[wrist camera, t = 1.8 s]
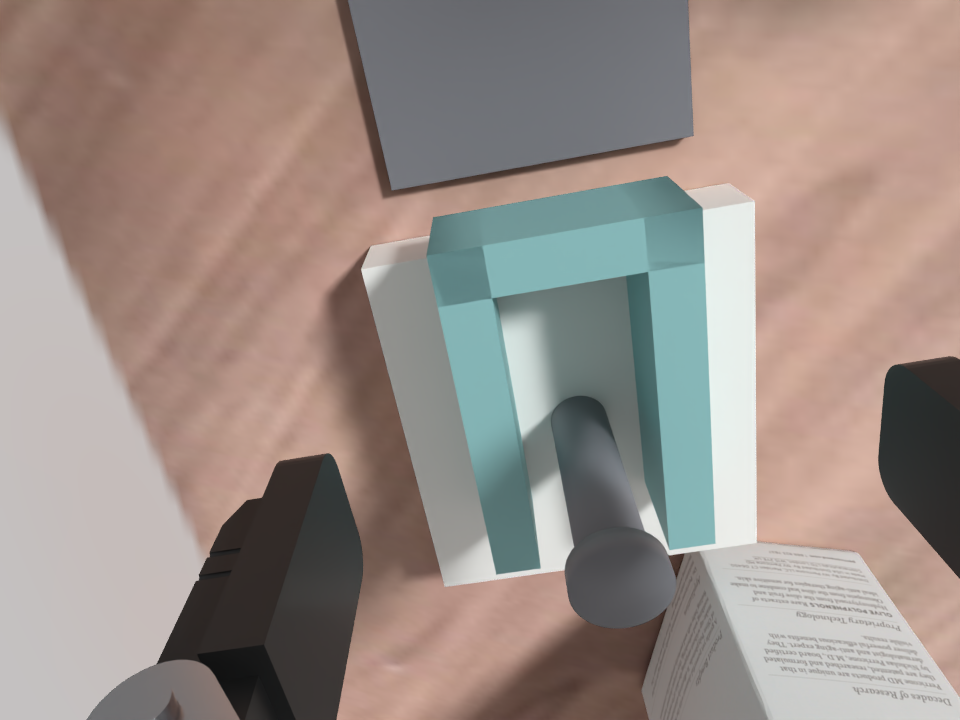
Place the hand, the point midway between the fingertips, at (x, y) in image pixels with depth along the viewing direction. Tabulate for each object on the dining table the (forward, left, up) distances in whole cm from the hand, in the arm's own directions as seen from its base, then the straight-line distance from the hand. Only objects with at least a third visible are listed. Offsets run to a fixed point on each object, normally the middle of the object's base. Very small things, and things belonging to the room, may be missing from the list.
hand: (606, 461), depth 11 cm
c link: (+3, 0, -9) cm, 9 cm away
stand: (+5, 0, -11) cm, 12 cm away
